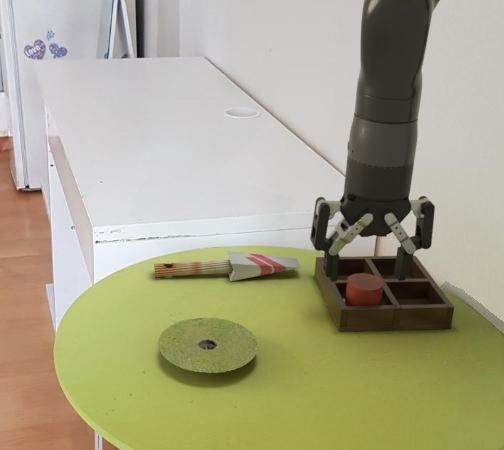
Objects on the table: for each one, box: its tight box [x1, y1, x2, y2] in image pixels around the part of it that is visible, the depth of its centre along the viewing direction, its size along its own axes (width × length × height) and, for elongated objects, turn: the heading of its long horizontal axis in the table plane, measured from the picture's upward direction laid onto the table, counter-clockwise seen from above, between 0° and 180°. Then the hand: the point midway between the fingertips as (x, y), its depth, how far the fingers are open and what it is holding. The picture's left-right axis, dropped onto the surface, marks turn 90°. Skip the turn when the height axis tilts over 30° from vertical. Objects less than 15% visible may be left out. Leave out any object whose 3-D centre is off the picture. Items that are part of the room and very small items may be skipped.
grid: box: [313, 255, 455, 332], centre depth 97 cm, size 14×14×3 cm
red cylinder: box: [345, 273, 384, 307], centre depth 94 cm, size 4×4×4 cm
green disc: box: [157, 317, 259, 374], centre depth 85 cm, size 11×11×2 cm
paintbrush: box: [153, 250, 302, 282], centre depth 103 cm, size 4×3×20 cm
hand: (365, 278), depth 93 cm, fingers open, 8 cm apart
